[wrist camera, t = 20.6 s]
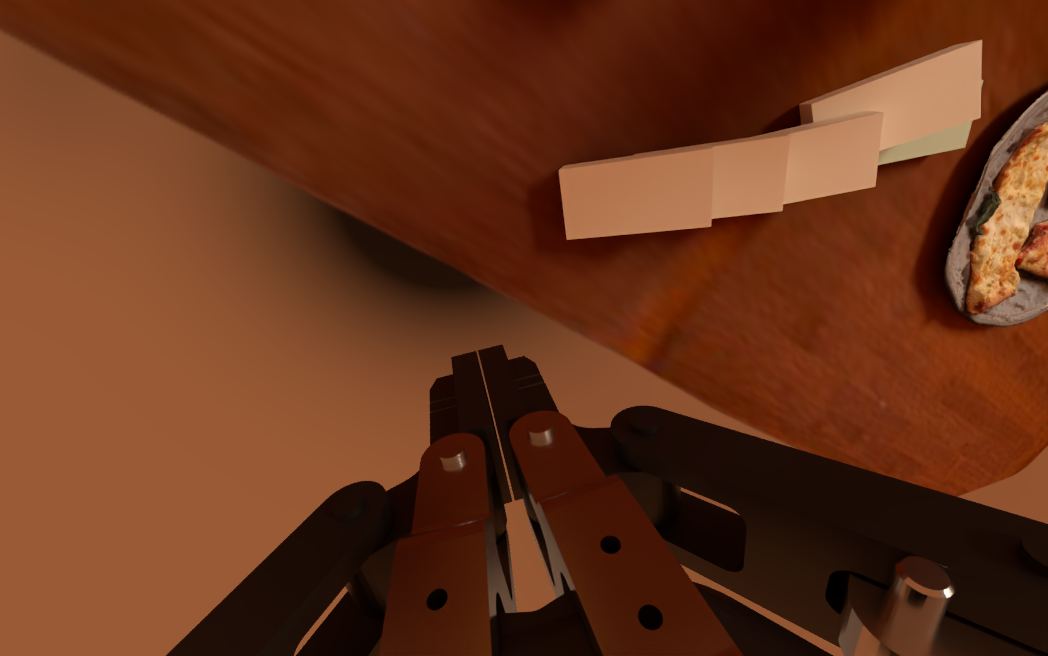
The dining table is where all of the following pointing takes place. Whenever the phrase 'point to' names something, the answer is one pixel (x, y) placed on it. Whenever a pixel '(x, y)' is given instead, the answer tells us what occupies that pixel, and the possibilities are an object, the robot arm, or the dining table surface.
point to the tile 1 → (638, 193)
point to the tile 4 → (911, 95)
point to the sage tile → (928, 144)
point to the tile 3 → (832, 156)
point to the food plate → (1006, 230)
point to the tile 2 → (748, 175)
